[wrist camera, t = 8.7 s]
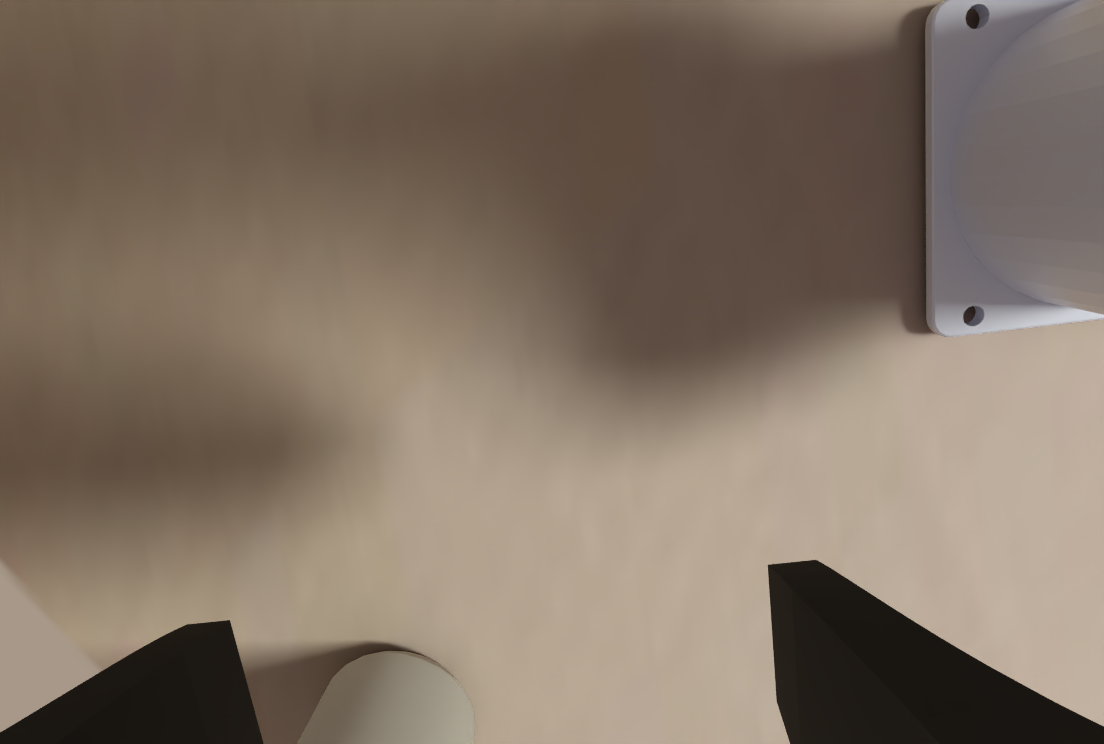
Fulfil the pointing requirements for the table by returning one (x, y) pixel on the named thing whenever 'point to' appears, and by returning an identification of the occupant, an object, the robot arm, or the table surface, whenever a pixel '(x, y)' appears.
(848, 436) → the table surface
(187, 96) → the table surface
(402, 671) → the beverage can
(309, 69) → the table surface
